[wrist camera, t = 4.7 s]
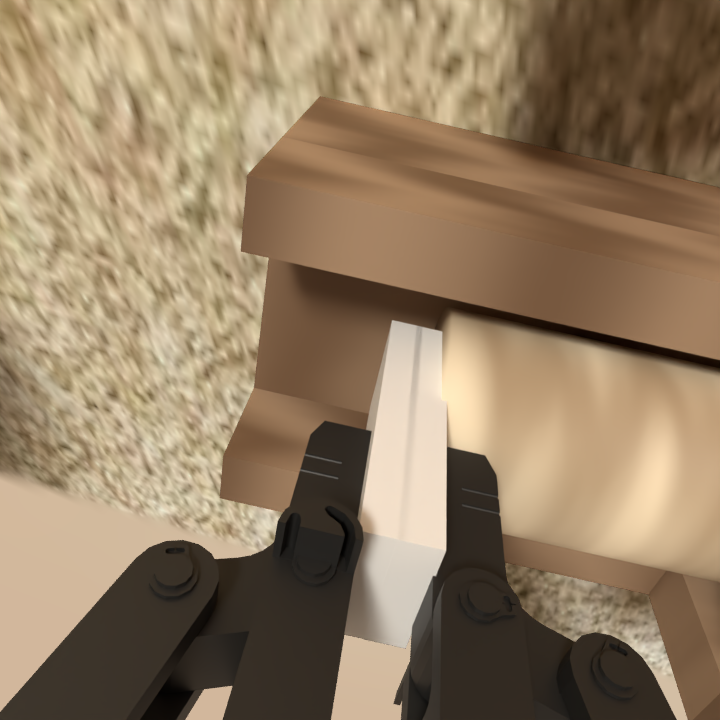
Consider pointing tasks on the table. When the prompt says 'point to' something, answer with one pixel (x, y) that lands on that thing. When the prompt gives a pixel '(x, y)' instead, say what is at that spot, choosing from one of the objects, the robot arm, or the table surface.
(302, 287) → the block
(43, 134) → the table surface
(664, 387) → the axle
